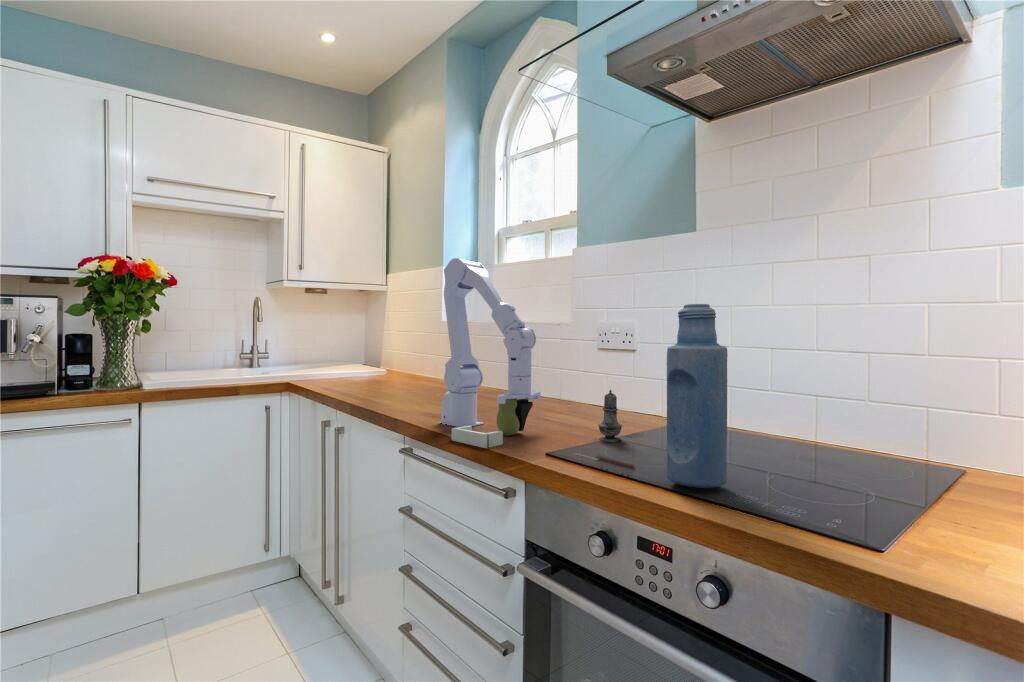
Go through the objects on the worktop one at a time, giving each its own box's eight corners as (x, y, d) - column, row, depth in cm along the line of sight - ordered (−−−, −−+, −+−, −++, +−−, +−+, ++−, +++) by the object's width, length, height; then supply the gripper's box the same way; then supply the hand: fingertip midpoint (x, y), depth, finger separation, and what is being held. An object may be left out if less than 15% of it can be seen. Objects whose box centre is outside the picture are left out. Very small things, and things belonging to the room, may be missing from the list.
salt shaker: (622, 442, 123) (623, 391, 123) (596, 441, 125) (597, 390, 125) (622, 438, 129) (623, 388, 129) (598, 437, 130) (598, 388, 130)
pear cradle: (451, 441, 123) (451, 428, 123) (468, 438, 127) (468, 425, 127) (485, 448, 116) (485, 434, 116) (502, 444, 120) (502, 431, 120)
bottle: (739, 483, 89) (741, 304, 89) (700, 492, 84) (702, 301, 84) (692, 471, 97) (694, 306, 97) (654, 478, 92) (656, 304, 92)
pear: (493, 435, 131) (491, 395, 130) (509, 431, 134) (507, 392, 134) (507, 439, 126) (505, 397, 126) (524, 435, 130) (522, 394, 129)
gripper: (512, 378, 125) (512, 436, 125) (550, 375, 135) (549, 428, 135) (490, 376, 129) (490, 432, 129) (528, 373, 140) (528, 425, 140)
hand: (519, 430), depth 133 cm, fingers closed
